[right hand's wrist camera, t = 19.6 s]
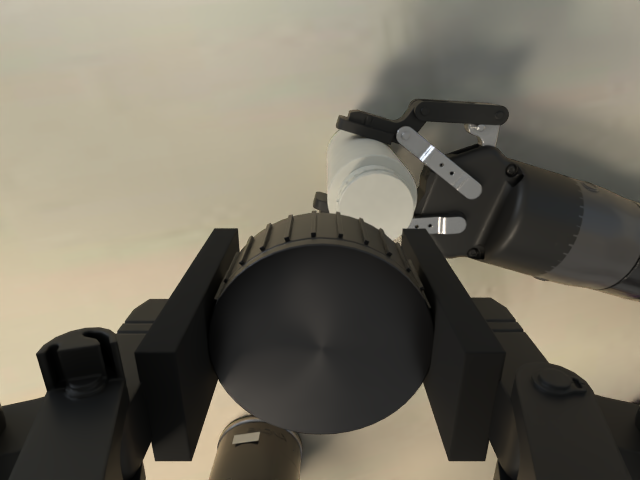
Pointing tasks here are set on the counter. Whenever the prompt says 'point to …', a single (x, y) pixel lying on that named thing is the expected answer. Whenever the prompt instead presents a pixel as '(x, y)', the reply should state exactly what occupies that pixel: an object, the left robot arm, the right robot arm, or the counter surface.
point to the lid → (321, 325)
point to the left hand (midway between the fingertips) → (327, 161)
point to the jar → (369, 183)
